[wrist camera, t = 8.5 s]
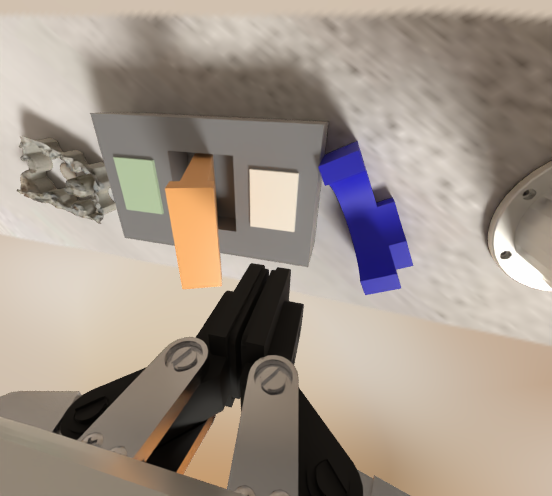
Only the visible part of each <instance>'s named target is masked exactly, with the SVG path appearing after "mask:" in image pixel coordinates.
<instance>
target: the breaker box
mask: <svg viewBox="0 0 552 496" xmlns="http://www.w3.org/2000/svg"><path fill="white" fill-rule="evenodd" d="M90 114H91V117H92V121H93V124H94V128H95V132H96V135H97V139H98V143H99V146H100V150H101V153H102V157H103V161H104V164H105V168H106V171H107V175H108V179H109V182H110V186H111V190H112V193H113V197H114V200H115V204H116V208H117V211H118V215H119V218H120V222H121V226H122V229H123V233H124V236H125V238H130V239H136V240H142V241H149V242H155V243H161V244H167V245H174V246H175V244H174V238H173V232H172V226H171V221H170V215H169V209H168V204H167V198H166V192H165V187H166V186H167V184H168V183H169V181H180V180H181V178H182V176H183V174H184V172H185V171H186V169H187V167H188V165H189V163H190V162H191V160H192V158H193V156H194V154H195V153H204V154H213V160H214V173H215V185H216V198H217V210H218V222H217V223H218V235H219V247H220V253H224V254H230V255H236V256H242V257H249V258H255V259H261V260H267V261H274V262H280V263H286V264H292V265H298V266H305V267H308V266H309V262H310V258H311V254H312V250H313V247H314V242H315V234H316V225H317V217H318V208H319V200H320V191H321V182H322V176H321V173H320V171H319V168H318V166H319V164H320V163H321V161H322V159H323V157H324V155H325V148H326V140H327V131H328V123H329V122H326V121H304V120H283V119H262V118H241V117H220V116H199V115H178V114H156V113H135V112H123V113H90Z"/></svg>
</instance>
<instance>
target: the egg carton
mask: <svg viewBox="0 0 552 496" xmlns="http://www.w3.org/2000/svg"><path fill="white" fill-rule="evenodd" d="M19 147H20V148H22V149H23V156H22V157H21V160H22V161H26V160H27V161H28V166H29V170H26V171H25V172H23V173H22V174H21V177H20V181H21V190H18V189H17V191H18V192H19V193H21V194H24V196H26V197H28V198H31V199H33V200H35V201H38V202H41V203H50V204H52V205H53V206H55V207H56V208H58V209H64V210H66V211H68V212H71V213H73V214H74V215H76V216H79V217H83V218H88V219H91V220H95V221H96V222H97V223H99V224H101V223H100V221H101V220H102V219H103V215H104V214H107V213H109V212H111V211H114V210H116V204H115V202H114V201H113V200H112V199H111V198H110V196H109V193H108V190H109V188H111V186H110V182H109V179H108V175H107V171H106V168H105V164H104V163H103V162H99V163H94V164H90V165H89V164H88V163H87V162H86V160H85V158H84V154H83V153H82V152H80V151H78V150H72V151H67V152H63V151H62V150H61V149H60V147H59V144H58V141H56V140H54V139H52V138H46V139H37V140H32V139H29V138H27V137H23V136H22V137H21V143H20V146H19ZM56 158H60V159H61V160H64V161H65V162H66V163H62V164H61V166H60V170H61V173H62V174H63V176H64V177H65V178H66V179H67V181H66V186H65V187H64V188H62V189H56V188H55V185H54V184H53V182H52V181H51V180H50V179H49V178H48V177H47V175H46V171H48V170H52V168H53V163H52V160H53V159H56ZM81 171H84V173H85V174H87V175H83V176H78V177H77V175H76V172H77V173H79V172H81ZM89 195H91V199H90V198H89V199H85V200H78V197H81V198H82V197H86V196H89ZM77 196H78V197H77Z"/></svg>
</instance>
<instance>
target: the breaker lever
mask: <svg viewBox="0 0 552 496" xmlns="http://www.w3.org/2000/svg"><path fill="white" fill-rule="evenodd" d="M165 192H166V198H167V204H168V209H169V215H170V221H171V226H172V232H173V238H174V244H175V249H176V255H177V261H178V266H179V272H180V277H181V283H182V289H193V288H205V287H217V286H222V271H221V259H220V247H219V235H218V223H217V222H218V210H217V198H216V185H215V173H214V160H213V154H204V153H195V154H194V156H193V158H192V160H191V162H190V163H189V165H188V167H187V169H186V171H185V172H184V174H183V176H182V178H181V180H180V181H169V183H168V184H167V186H166V187H165Z"/></svg>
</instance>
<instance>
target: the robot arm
mask: <svg viewBox="0 0 552 496" xmlns="http://www.w3.org/2000/svg"><path fill="white" fill-rule="evenodd" d="M525 191H526V192H525ZM524 192H525V193H524ZM523 193H524V194H523ZM488 247H489V250H490V253H491V256H492V258H493V259H494V261H495V262H496V264H497V265H498V266H499V267H500V268H501V269H502V270H503V271H504V272H505V274H506V275H508V276H509V277H511V278H512V279H513V280H515V281H516V282H519V283H521V284H523V285H525V286H528V287H531V288H535V289H539V290H542V291H550V292H552V161H550V162H549V163H547V164H545V165H543V166H542V167H540V168H538V169H537V170H535V171H533V172H532V173H531V174H529V175H528V176H527V177H525V178H524V179H523V180H522V181H520V182H519V183H518V184H517V185H516V186H515V187H514V188H513V189H512V190H511V191H510V192H509V193H508V194H507V195H506V196H505V197H504V199H503V200H502V202H501V203H500V205H499V206H498V207H497V209H496V211H495V213H494V215H493V217H492V220H491V222H490V226H489V231H488ZM290 276H291V270H290V269H285V268H279V267H277V269H276V270H272V271H271V273H270V275H269V270H268V269H265V266H264V265H259V264H253V263H251V264H250V265H249V267H248V269H247V270H246V272H245V274H244V275H243V277H242V279H241V280H240V282H239V284H238V285H237V287H236V289H235V290H234V292H233V291H226V292H225V293H224V295H223V296H222V298H221V299H220V301H219V302H218V304H217V306H216V307H215V309H214V310H213V312H212V313H211V315H210V316H209V318H208V319H207V321H206V323H205V324H204V326H203V327H202V329H201V330H200V332H199V333H198V335H197V336H196V338H194V337H186V338H182V339H178V340H176V341H174V342H172V343H171V344H169V345H168V346H167V347H166V348H165V349H164V350H163V351H162V352H161V353H160V354H159V355H158V356H157V357H156V358H155V359H154V360H153V361H152V362H151V363H150V365H148V367H146V368H144V369H142V370H139V371H136V372H134V373H132V374H129V375H127V376H124V377H122V378H120V379H117V380H115V381H112V382H110V383H108V384H106V385H103V386H100V387H98V388H95V389H93V390H91V391H89V392H87V393H85V394H83V395H81V394H80V392H79V391H74V392H73V391H18V392H11V393H8V394H6V395H3V396H1V397H0V496H410V495H408V494H407V493H405V492H403V491H401V490H399V489H398V488H396V487H394V486H392V485H390V484H389V483H387V482H385V481H383V480H381V479H380V478H378V477H376V476H374V477H373V478H371V477H369V476H367V475H366V474H364V473H362V472H360V471H359V470H357V469H356V467H355V465H354V463H353V462H352V460H351V459H350V458H349V456H348V455H347V453H346V452H345V451H344V449H343V448H342V447H341V445H340V444H339V443H338V441H337V440H336V438H335V437H334V436H333V434H332V433H331V432H330V430H329V429H328V427H327V426H326V425H325V423H324V422H323V420H322V419H321V418H320V416H319V415H318V414H317V412H316V411H315V409H314V408H313V407H312V405H311V404H310V402H309V401H308V400H307V398H306V397H305V395H304V394H303V393H302V391H301V390H300V389H299V387H298V373H297V370H296V368H295V366H294V363H295V358H296V353H297V347H298V342H299V337H300V331H301V325H302V317H303V308H304V304H301V303H295V302H290V301H289V290H290ZM240 397H241V417H240V423H239V428H238V434H237V439H236V444H235V450H234V454H233V460H232V465H231V471H230V476H229V481H228V486H227V489H224V488H221V487H218V486H215V485H212V484H209V483H206V482H203V481H200V480H197V479H194V478H191V477H188V476H185V475H183V474H184V472H185V471H186V469H187V467H188V465H189V464H190V462H191V460H192V458H193V457H194V455H195V453H196V451H197V450H198V448H199V446H200V444H201V443H202V441H203V439H204V437H205V436H206V434H207V432H208V431H209V429H210V427H211V425H212V424H213V421H214V419H215V416H216V414H217V413H219V412H221V411H223V409H224V407H225V406H228V407H232V405H233V402H234V399H235V398H237V399H240Z"/></svg>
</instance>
